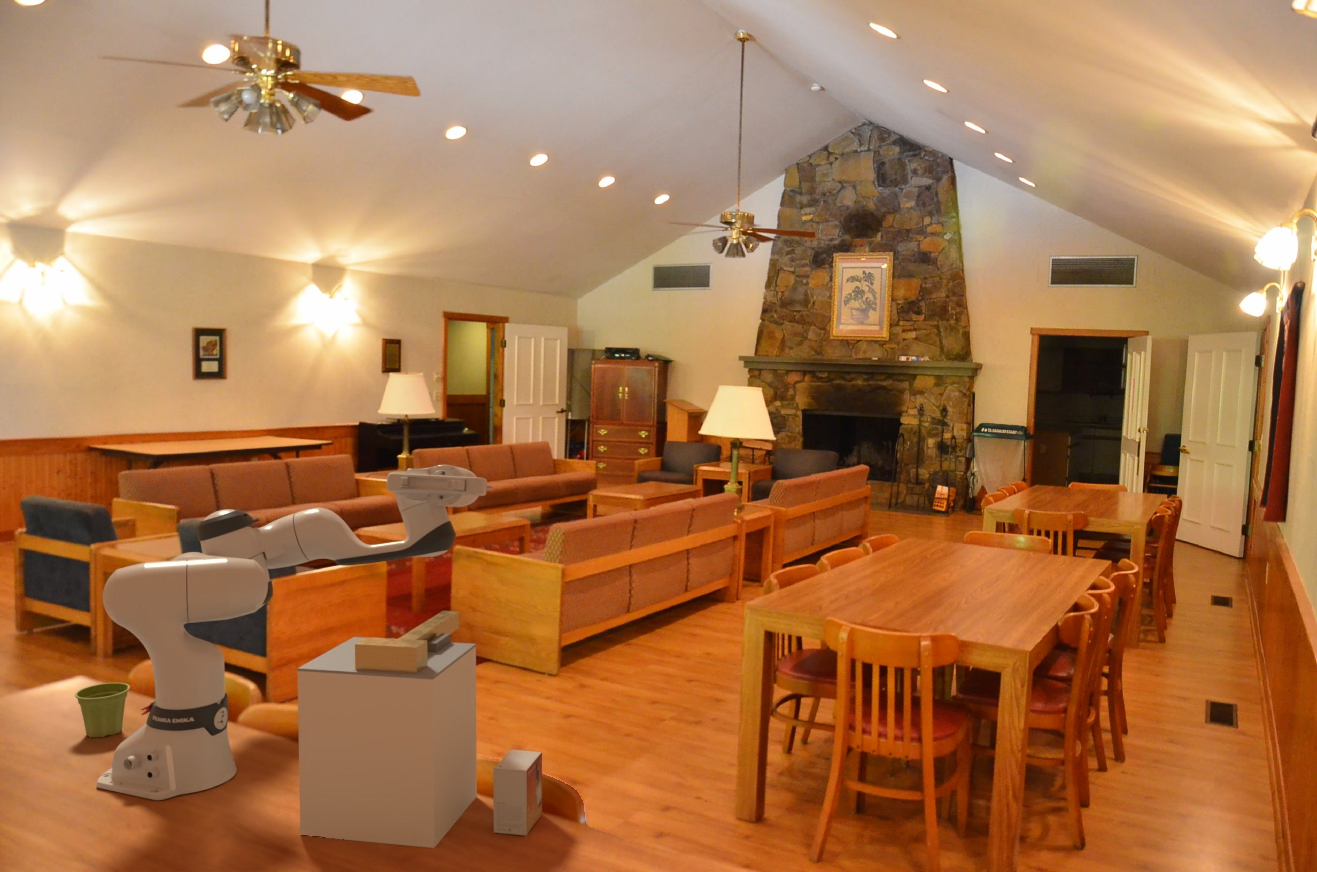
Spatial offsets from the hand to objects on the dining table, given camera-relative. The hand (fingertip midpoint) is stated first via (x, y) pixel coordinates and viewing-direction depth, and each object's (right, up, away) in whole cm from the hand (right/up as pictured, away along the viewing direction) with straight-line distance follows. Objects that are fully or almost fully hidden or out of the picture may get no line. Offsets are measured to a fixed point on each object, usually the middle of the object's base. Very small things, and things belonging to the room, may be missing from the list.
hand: (426, 482), depth 189 cm
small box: (+24, -53, -37) cm, 69 cm away
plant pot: (-64, -50, +1) cm, 81 cm away
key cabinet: (+3, -52, -34) cm, 62 cm away
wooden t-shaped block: (+7, -26, -31) cm, 41 cm away
